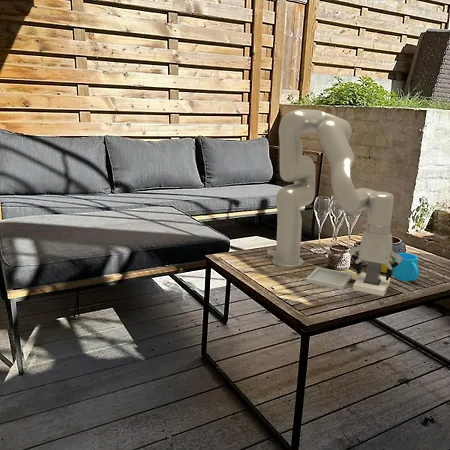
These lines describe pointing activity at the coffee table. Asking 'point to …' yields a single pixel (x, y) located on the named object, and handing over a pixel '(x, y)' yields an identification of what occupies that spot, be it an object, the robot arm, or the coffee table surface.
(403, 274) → the mug
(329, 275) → the tray
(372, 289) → the block
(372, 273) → the plug
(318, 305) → the coffee table surface
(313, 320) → the coffee table surface
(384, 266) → the lemon
